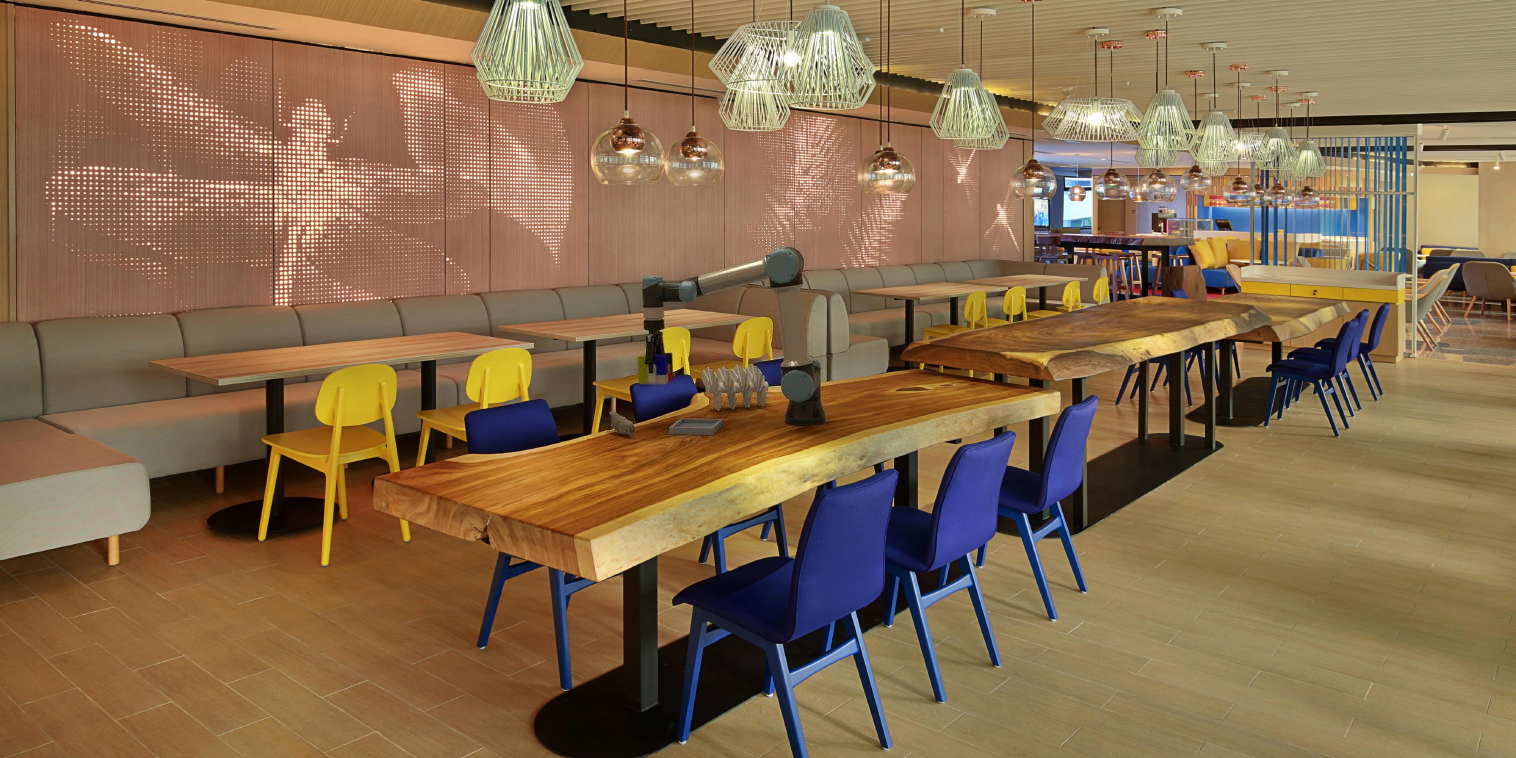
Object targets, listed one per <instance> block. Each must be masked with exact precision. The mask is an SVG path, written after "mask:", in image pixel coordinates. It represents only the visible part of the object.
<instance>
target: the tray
mask: <svg viewBox="0 0 1516 758" xmlns="http://www.w3.org/2000/svg"><path fill="white" fill-rule="evenodd" d="M723 426H724V419H723V418H689V417H688V418H687V417H686V418H684V417H681V418H679V419H677V420H676V421H675V422H674V423H673V424H672V425H670V426H669V427H668V435H692V436H693V435H695V436H702V435H703V436H714V435H716V433H717V432H718V431H719V430H721V428H723Z"/></svg>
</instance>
